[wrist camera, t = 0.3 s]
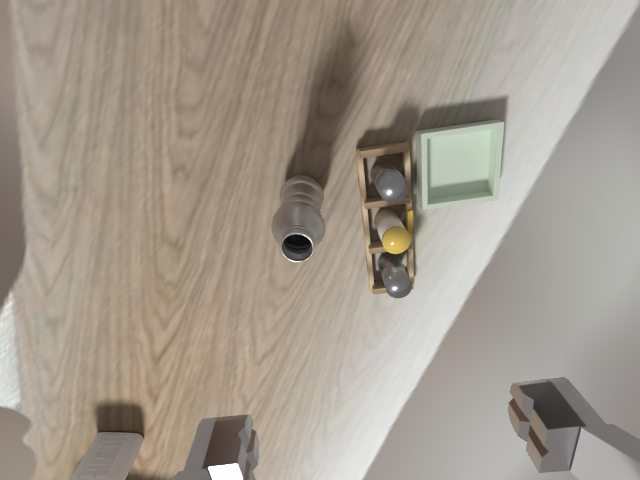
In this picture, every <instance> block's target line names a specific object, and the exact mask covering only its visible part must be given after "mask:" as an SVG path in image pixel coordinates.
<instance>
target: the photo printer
mask: <svg viewBox="0 0 640 480" xmlns="http://www.w3.org/2000/svg"><path fill="white" fill-rule="evenodd" d="M142 442H143V437H142V435H140V434H138V433H120V432H100V433H98V434H97V435H96V437H95V438H94V440H93V442H92V443H91V445H90V447H89V448H88V450H87V452H86V453H85V455H84V457H83V458H82V460H81V461H80V463H79V465H78V466H77V468H76V470H75V471H74V473H73V475H72V476H71V478H70V480H125V479H126V477H127V475H128V473H129V471H130V469H131V467H132V464H133V462H134V460H135V458H136V456H137V454H138V452H139V449H140V447H141V445H142Z"/></svg>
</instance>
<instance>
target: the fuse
mask: <svg viewBox="0 0 640 480" xmlns="http://www.w3.org/2000/svg"><path fill="white" fill-rule="evenodd" d="M374 224H375V227H376V229H377V231H378V234H379V236H380V239H381V241H382V244H383V247H384V249H385V250H386V251H387V252H389V253H392V254H399V253H402V252H404V251H405V250H406V249H407V248H408V247H409V245H410V243H411V237H410V235H409V233H408V231H407V230H406V229H405V227H404V225H403V224H402V222H401V220H400V219H399V217H398V215H397V214H396V213H395V212H394V211H393V210H389V209H385V210H382V211H380V212H379V213H378V214H377V215H376V216H375V219H374Z"/></svg>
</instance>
